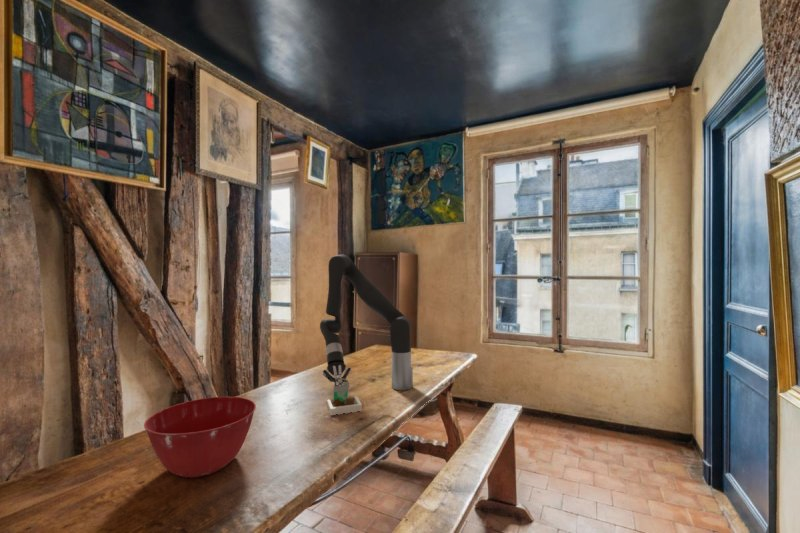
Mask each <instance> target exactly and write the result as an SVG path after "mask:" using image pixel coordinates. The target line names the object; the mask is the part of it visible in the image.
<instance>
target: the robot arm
mask: <svg viewBox="0 0 800 533" xmlns="http://www.w3.org/2000/svg"><path fill="white" fill-rule="evenodd" d="M343 276H344V277H345V278H347V280H349V282H350V283H351V284H352V286H353V288H354V290H355V292H356V294H357V295H358V297H359V298H360V299H361V300H362V301H363V303H365V305H366V306H368V307H369V308H370V309H371V310H373V311H375V312H376V313H378V314H379V315H381V316H382V317H383V318H384V319H385V320H386V321H387V322H388V324H389V326H390V328H389V329H390V332H389V337H390V348H391V388H392V389H393V390H396V391H407V390H410V389H413V387H414V384H413V383H414V382H413V381H414V377H413V375H414V373H413V371H414V370H413V367H412V344H411V330H412V323H411V322H412V321H411V320H410V319H409V318H408V317H407V316H406V315H405V314H403V313H402V312H401V311H400V310H399V309H398V308H396V307H395V305H393V304H392V302H390V299H388V298H387V297H386V295H385V294H384V293H382V291H381V290H380V289H379V288H378V287H377V285H375V284H374V283H373V282H372V281H371V280H370V279H369V278H368V277H367V276H366V275H365V274H364V273H363V272H362V271H361V270H360V269H359V268H358V267H357V265H356V264H355V263H354V261H353V260H352V259H351V258H350V257H349V256H348V255H346V254H337V255H333V256H332V257H331V258H330V259H329V261H328V293H327V300H326V308H325V313H326V314H327V316H331V317H333V318H323V319H322V320H321V321H320V323H319V330H320V333H321V334H322V337H323V339H324V340H325V347H326V348H325V349H326V350H325V354H326V355H325V356H326V363H327V364H326V365H327V367H326V369H324V370H323V371H322V375H323V376H324V377H325V378H326V379H327V380H328V381H329V382H331V383H334V384H335V378H344V379H347V377H348V376H349V375H350V374H351V373H350V372H351V367H347V366H346V364H345V359H344V352H343V348H342V344H341V337H340V335H339V334H340V333H341V331H342V328H343V326H342V318H341V309H342V303H343V296H342V295H343V294H342V286H341V285H342V279H343ZM343 373H344V374H343Z"/></svg>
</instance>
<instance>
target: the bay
mask: <svg viewBox="0 0 800 533" xmlns="http://www.w3.org/2000/svg"><path fill="white" fill-rule="evenodd" d="M353 403H354V404H347V405H346V406H338V407H334V405H333V404H332V401H331V399H327V400H326V406H328V407H327V409H329V410H328V413H329V415H330V416H336V414H338V415H343V413H345V414H350V412H352V413H358V412H357V411H360V412H363V404H362V402H361V401H360V399H359V397H358V396H357V395H354V396H353Z"/></svg>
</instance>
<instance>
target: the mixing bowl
mask: <svg viewBox="0 0 800 533" xmlns="http://www.w3.org/2000/svg"><path fill="white" fill-rule="evenodd" d="M256 409H257V408H256V403H255V402H254V401H252V400H251V399H249V398H244V397H239V396H214V397H213V396H211V397H204V398H203V397H202V398H200V399H194V400H188V401H185V402H180V403H177V404H174V405H172V406H169V407H165V408H163V409H162V410H159V411H157V412H155V413H154V414H152V415H150V416H149V417H148V418H147V419H146V420H145V421H144V424H143V427H144V429H145V430H146V431H147V436H148V439H149V441H150V444H151V447H152V449H153V451H154V453H155V455H156V457H157V458H158V459H159V461H160V463H161V464H162V465H163V467H165V469H166V470H167V471H169V472H170V473H172V474H174V475H177V476H179V477H182V478H188V477H189V479H190V478H191V479H192V478H193V479H194V478H200V477H204V476H207V475H208V476H209V475H212V474H214V473H217V472H218V471H220V470H222V469H223V468H225V467H226V466H227V465H228V464H230V463H231V462H232V461H233V460H234V459H235V457H236V456H238V453H239V452H240V450H241V449H242V446H243V444H244V442H245V441H246V439H247V435H248V433H249V431H250V427H251V424H252V421H253V417H254V416H253V415H254V414H255V411H256Z"/></svg>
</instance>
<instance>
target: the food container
mask: <svg viewBox="0 0 800 533" xmlns="http://www.w3.org/2000/svg"><path fill="white" fill-rule="evenodd" d="M349 388H350V382H349V380H348V379H347V378H346V379H344V378H335V383H334V386H333V407H338V406H346V405H348V392H349Z"/></svg>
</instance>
